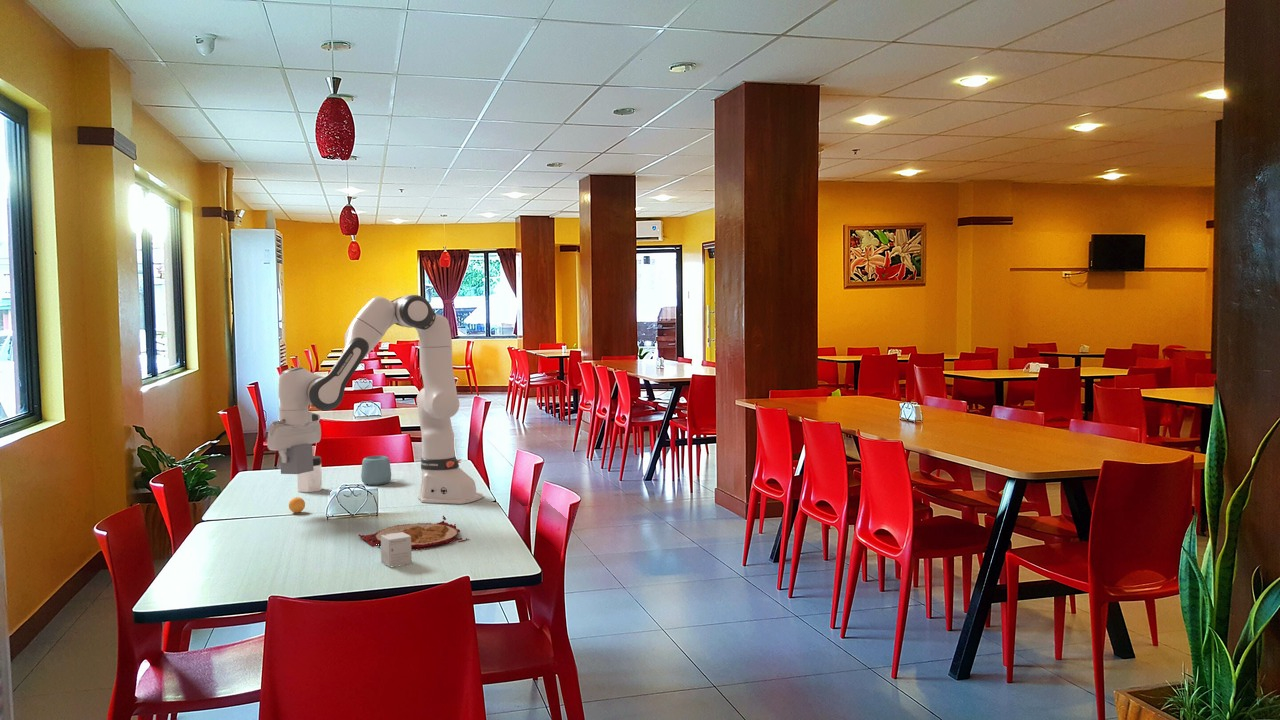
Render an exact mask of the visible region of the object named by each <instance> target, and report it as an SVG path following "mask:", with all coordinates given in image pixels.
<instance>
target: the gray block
mask: <svg viewBox="0 0 1280 720" xmlns="http://www.w3.org/2000/svg"><path fill="white" fill-rule="evenodd" d="M285 453H286V455H287V457H289V462H287V463H282V457H281V456H280V455H279V463H280V465H279V467H280V474H281V475H297V474H301V473H305V472H310V471H314V468H313V456H314V454H313V444H303V445H298V446H292V447H291V448H287V452H285Z"/></svg>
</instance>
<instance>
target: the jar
mask: <svg viewBox="0 0 1280 720" xmlns="http://www.w3.org/2000/svg"><path fill="white" fill-rule="evenodd" d="M313 468H314V471H310V472H305V473H301V474H296V475H297V492H298V493H308V492H309V493H315V492H320V491H321V490H322V489H323V483H322V482H323V479H322V478H323V477H322V475H323V473H322V457H321V456H320V455H313ZM314 491H315V492H314Z"/></svg>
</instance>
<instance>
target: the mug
mask: <svg viewBox="0 0 1280 720" xmlns="http://www.w3.org/2000/svg"><path fill="white" fill-rule="evenodd" d="M361 463H362V464H361V473H360V475H361V476H360V478H361V482H362V483H363V484H365V485H367V484H368V486H380V485H385V484H388V483H389V482H390V481H391V480H392V469H391V461H390V457H388V456H385V455H371V456H366V457H364V458H363V459H362V462H361Z"/></svg>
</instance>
